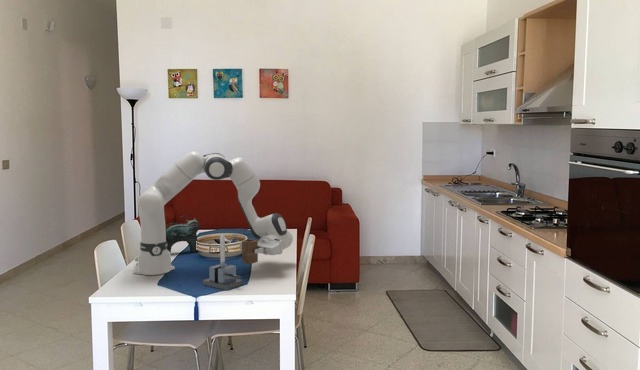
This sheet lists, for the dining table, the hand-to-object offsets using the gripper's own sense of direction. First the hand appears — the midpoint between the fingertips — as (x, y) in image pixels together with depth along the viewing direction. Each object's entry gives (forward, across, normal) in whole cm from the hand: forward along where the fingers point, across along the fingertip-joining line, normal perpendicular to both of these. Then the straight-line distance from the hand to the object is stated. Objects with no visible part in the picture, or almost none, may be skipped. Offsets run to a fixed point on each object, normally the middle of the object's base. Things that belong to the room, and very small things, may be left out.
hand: (248, 250), depth 254 cm
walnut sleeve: (-1, 0, +6) cm, 6 cm away
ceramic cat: (-13, -57, +12) cm, 60 cm away
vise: (+16, 0, +12) cm, 20 cm away
